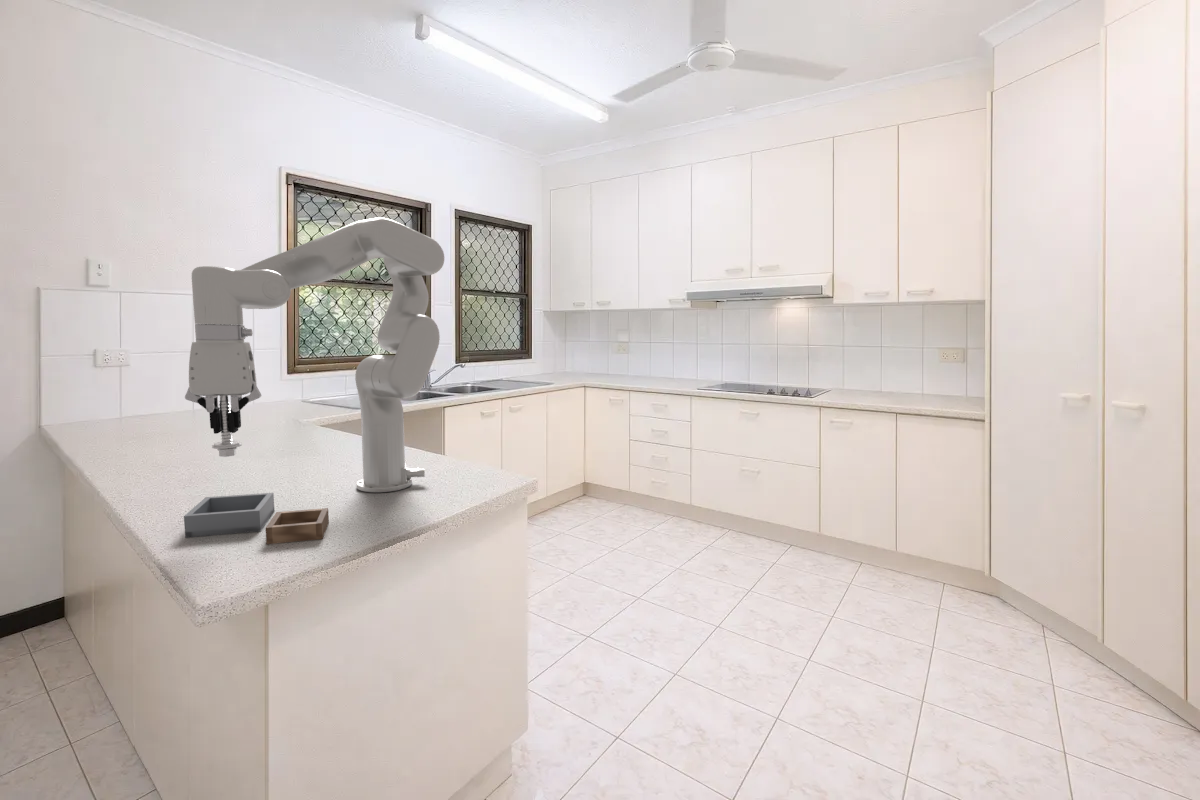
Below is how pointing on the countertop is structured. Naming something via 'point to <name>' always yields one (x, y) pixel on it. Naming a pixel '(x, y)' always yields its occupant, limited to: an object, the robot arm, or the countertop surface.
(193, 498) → the countertop surface
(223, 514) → the bin
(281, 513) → the frame
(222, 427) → the screw
